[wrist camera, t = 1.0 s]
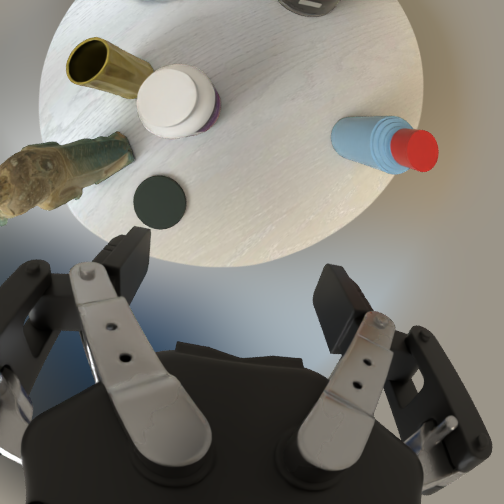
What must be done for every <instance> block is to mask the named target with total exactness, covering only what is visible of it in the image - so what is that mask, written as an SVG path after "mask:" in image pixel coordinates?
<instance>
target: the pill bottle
mask: <svg viewBox="0 0 504 504" xmlns="http://www.w3.org/2000/svg"><path fill="white" fill-rule="evenodd" d="M220 110H221V101H220V97H219V94H218V92H217V91H216V89H215V88H214V86H213V84H212V83H211V81H210V79H209V78H208V77H207V76H206V75H205V74H204V73H203V72H202V71H201V70H199V69H198V68H196V67H193V66H190V65H187V64H172V65H167V66H165V67H162V68H160V69H158V70H156V71H155V72H153V73H152V74H151V75H150V76H149V77H148V78H147V79H146V80H145V81H144V82H143V84H142V85H141V87H140V89H139V92H138V95H137V113H138V116H139V119H140V121H141V122H142V124H143V125H144V126H145V128H146V129H147V130H149V131H150V132H151V133H153V134H155V135H157V136H159V137H162V138H167V139H177V138H183V137H188V136H194V135H198V134H201V133H203V132H205V131H207V130H208V129H210V128H211V127H212V126H213V125H214V123H215V122H216V121H217V119H218V117H219V114H220Z"/></svg>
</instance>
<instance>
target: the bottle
mask: <svg viewBox="0 0 504 504" xmlns="http://www.w3.org/2000/svg"><path fill="white" fill-rule="evenodd" d="M403 128H407V129H413V128H412V127H411V125H410V124H409V123H408V122H406V121H405V120H404V119H402V118H400V117H396V116H364V117H346V118H343V119H341V120H339V121H338V122H337V123H336V124H335V126H334V127H333V130H332V134H331V141H332V145H333V147H334V149H335V150H336V152H337V153H338V154H339V155H340V156H342V157H344V158H346V159H349V160H352V161H355V162H358V163H361V164H364V165H367V166H370V167H373V168H375V169H378V170H381V171H384V172H386V173H389V174H400V173H403V172H405V171H407V170H408V169H410V168H408V167H405V166H402V165H400V164H398V163H397V162H396V161H395V160H394V158H393V156H392V153H391V149H390V144H391V139H392V137H393V135H394V134H395V133H396V132H397V131H398V130H400V129H403Z"/></svg>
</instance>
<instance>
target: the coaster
mask: <svg viewBox="0 0 504 504" xmlns="http://www.w3.org/2000/svg"><path fill="white" fill-rule="evenodd" d="M133 202H134V209H135V212H136V214H137V216H138V218H139V219H140V220H141V221H142V222H143V223H144V224H145V225H147V226H149V227H151V228H154V229H167V228H170V227H172V226H174V225H175V224H177V223H178V222H179V221H180V219H181V218H182V216H183V214H184V212H185V209H186V198H185V194H184V192H183V190H182V188H181V187H180V185H179V184H178V183H177V182H176V181H174V180H173V179H171V178H169V177H165V176H153V177H150V178H148V179H146V180H145V181H143V182H142V183H141V184H140V185H139V186H138V188H137V190H136V192H135V194H134V201H133Z"/></svg>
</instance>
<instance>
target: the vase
mask: <svg viewBox="0 0 504 504" xmlns="http://www.w3.org/2000/svg"><path fill="white" fill-rule="evenodd" d="M153 72H154V71H153V69H152V67H151V65H150V64H149V63H148V62H146V61H144V60H141V59H139V58H137V57H135V56H134V55H132V54H130V53H128V52H126V51H124V50H122V49H120V48H119V47H117V46H115V45H113V44H112V43H110V42H108V41H107V40H104V39H101V38H99V37H94V38H89V39H86V40H85V41H83V42H81V43H80V44H79V45H77V46H76V47H75V48H74V50H73V51H72V52H71V54H70V56H69V58H68V60H67V64H66V73H67V76H68V78H69V80H70V81H71V82H72V83H74V84H77V85H80V86H85V87H90V88H95V89H98V90H102V91H105V92H109V93H112V94H115V95H119V96H121V97H123V98H126V99H134V98H137V95H138V92H139V89H140V87H141V85H142V84H143V82H144V81H145V80H146V79H147V78H148V77H149V76H150V75H151V74H152V73H153Z"/></svg>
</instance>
